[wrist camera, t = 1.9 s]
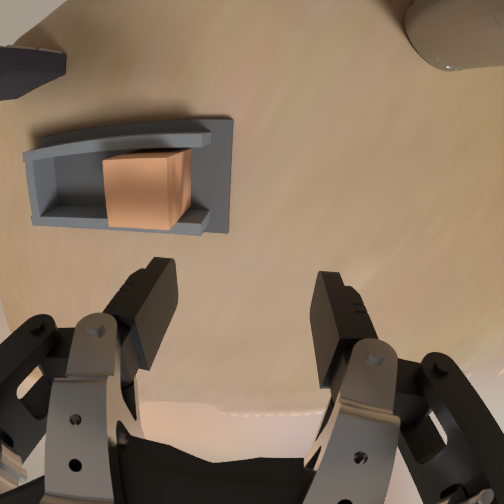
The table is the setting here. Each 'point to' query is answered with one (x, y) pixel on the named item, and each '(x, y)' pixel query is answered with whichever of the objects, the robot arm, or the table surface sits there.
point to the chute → (120, 142)
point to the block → (147, 188)
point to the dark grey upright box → (28, 69)
